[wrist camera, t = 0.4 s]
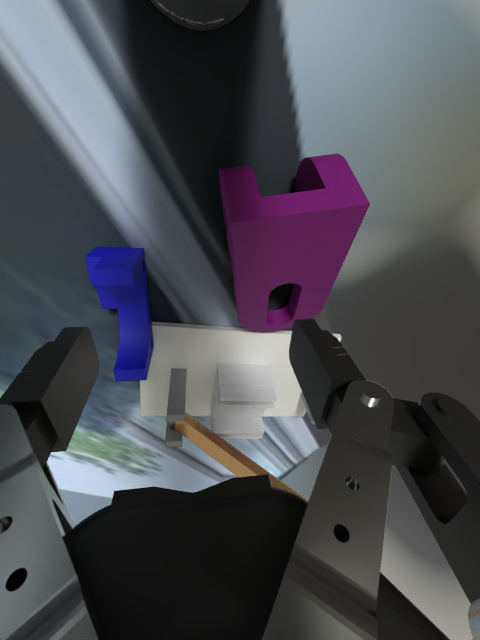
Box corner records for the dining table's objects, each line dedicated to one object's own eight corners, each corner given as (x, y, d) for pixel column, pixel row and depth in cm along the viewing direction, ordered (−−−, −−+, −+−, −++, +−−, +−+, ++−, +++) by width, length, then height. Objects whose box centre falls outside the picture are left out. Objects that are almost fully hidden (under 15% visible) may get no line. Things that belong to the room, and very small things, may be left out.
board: (139, 320, 33) (124, 370, 27) (339, 334, 38) (368, 378, 32) (142, 411, 42) (132, 464, 36) (302, 412, 48) (318, 458, 41)
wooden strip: (174, 418, 36) (166, 426, 35) (175, 401, 35) (167, 409, 34) (306, 517, 30) (301, 529, 29) (316, 502, 28) (311, 515, 27)
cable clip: (95, 246, 27) (72, 268, 22) (143, 248, 28) (131, 269, 23) (114, 347, 33) (100, 382, 28) (154, 346, 34) (146, 380, 29)
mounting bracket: (297, 271, 39) (331, 133, 23) (314, 325, 35) (370, 203, 19) (229, 281, 38) (215, 147, 22) (239, 337, 34) (230, 222, 18)
